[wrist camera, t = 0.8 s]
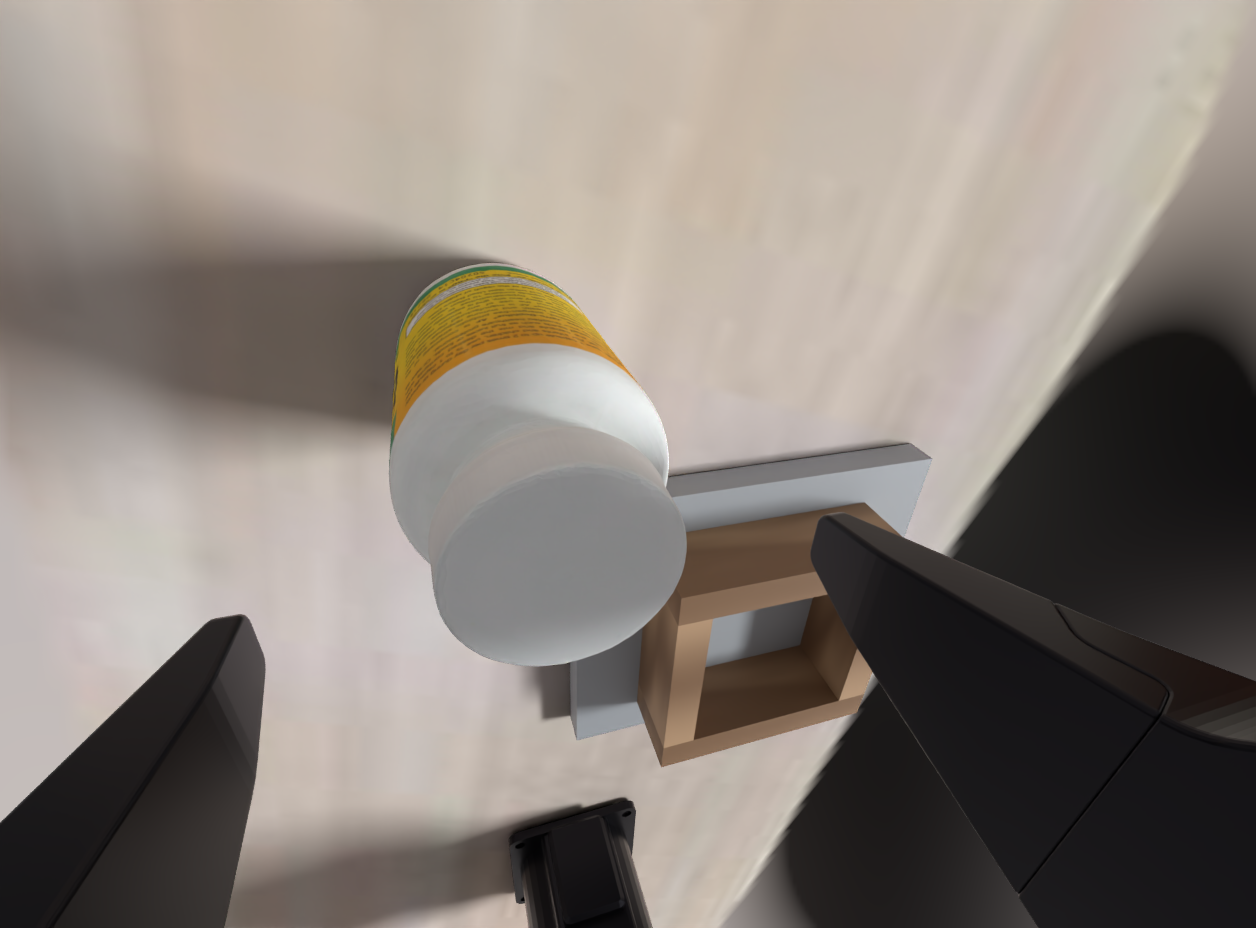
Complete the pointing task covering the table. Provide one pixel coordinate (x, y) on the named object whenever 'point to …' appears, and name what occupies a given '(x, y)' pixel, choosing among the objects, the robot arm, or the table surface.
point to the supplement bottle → (529, 470)
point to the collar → (759, 685)
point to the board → (738, 497)
